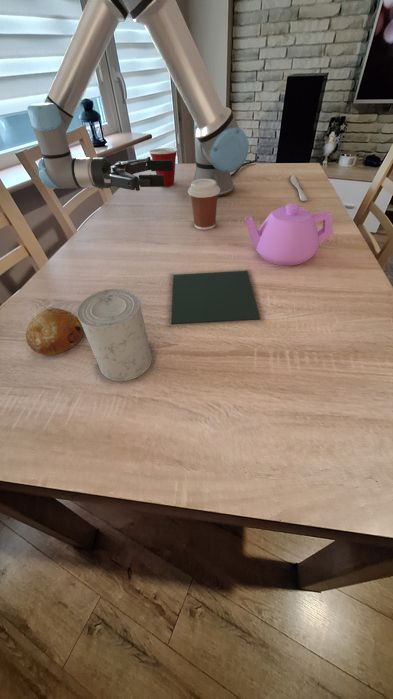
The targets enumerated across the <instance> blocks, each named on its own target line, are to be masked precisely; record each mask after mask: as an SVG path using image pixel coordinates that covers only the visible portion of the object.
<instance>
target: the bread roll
mask: <svg viewBox="0 0 393 699" xmlns="http://www.w3.org/2000/svg"><path fill="white" fill-rule="evenodd" d="M83 334H84V329H83V327H82V325H81V322H80V321H79V319H78V316H77V315H76V314H74V313H72V312H71V311H68V310H66V309H62V308H58V307H52V306H50V307H46V308H43V309H41V310H40V311H39V312H37V313H35V315H33V316H32V317H31V320H30V321H29V323H28V325H27V327H26V329H25V340H26V343H27V344H28V346H29V347H30V349H31V350H32V351H34V352H35V353H37V354H40V355H45V356H53V355H57V354H60V353H64V352H67V351H69V350H71V349H72V348H73V347H75V346H76V345H78V344H79V342H80V341H81V340H82V337H83Z"/></svg>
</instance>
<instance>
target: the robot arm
mask: <svg viewBox="0 0 393 699" xmlns="http://www.w3.org/2000/svg"><path fill="white" fill-rule="evenodd" d="M128 15H130V17H131V19H132V21H133V22H135V23H137V24H139V25H142V26H144V29H145V30H146V32H147V34H148V36H149V38H150V40H151V41H152V44H153V45H154V47H155V49H156V51H157V54H158V55H159V57H160V59H161V60H162V62H163V65H164V67H165V68H166V70H167V72H168V74H169V76H170V78H171V79H172V82H173V83H174V85H175V87H176V89H177V92H178V93H179V95H180V97H181V99H182V100H183V103H184V104H185V107H186V108H187V110H188V113H189V114H190V115H191V117H192V120H193V121H194V123H193V124H194V125H193V130H194V149H195V172H194V176H193V181H195V180H198V179H213V180H215V181H216V184H217V186H219V188H220V192H219V194H218V196H217V198H220V197H225V196H227V195H229V194H231V193H232V192H233V191H234V183H233V180H232V178H233V177H234V176H235V175H236V174H237V173H238V172H239V171H240V170H241V168H242V167H244V166H245V165H246V166H247V165H250V164H254V163H256V162H257V161H258V160H259V159H260V156H259V155H256V157H255V159H254V160H251V161H247V162H245V161H246V160H247V157H248V154H249V151H250V150H249V149H250V144H249V139H248V136H247V134H246V133H245V131H244V130H242V128H240V126H239V125H238V123H237V121H236V120H237V119H236V118H235V115H234V114H233V111H232V109H231V108H230V107H227V106H224V105H223V103H222V101H221V99H220V97H219V96H220V95H219V94H218V92H217V90H216V87H215V85H214V83H213V81H212V79H211V76H210V74H209V72H208V70H207V68H206V65H205V63H204V61H203V58H202V56H201V54H200V52H199V49H198V47H197V45H196V42H195V41H194V38H193V36H192V34H191V32H190V29H189V27H188V25H187V22H186V20H185V18H184V16H183V13H182V12H181V8H180V7H179V4H178V2H177V0H87V1H86V3H85V6H84V8H83V11H82V13H81V15H80V18H79V20H78V23H77V25H76V28H75V29H74V32H73V34H72V36H71V39H70V42H69V44H68V45H67V48H66V51H65V53H64V55H63V57H62V60H61V63H60V65H59V67H58V69H57V71H56V75H55V77H54V79H53V81H52V84H51V86H50V88H49V90H48V94H47V96H46V98H45V100H44V102H37V103H32V104H29V105H28V106H27V108H26V111H27V114H28V117H29V123H30V125H31V127H32V129H33V132H34V135H35V138H36V141H37V144H38V147H39V149H40V152H41V155H42V158H40V160H39V161H38V163H37V164H38V165H37V169H38V176H39V178H40V180H41V182H42V183H43V185H45V187H48V188H51V189H61V190H64V189H87V190H88V191H91V190H92V189H97V188H98V189H110V188H112V187H115V188H119V189H123V190H129V191H136V192H139V191H140V190H141V188H164V187H166V186H165V184H164V175H157V174H139V173H143V172H148V171H151V172H156V171H173V162H172V160H152V157H151V156H147V157H146V158H138V159H132V160H131V159H130V160H125V161H124V160H123V161H122V160H121V161H117V162H116V163H114V164H113V165H112V164H111V162H110V161H109V159H108V158H106V157H93V158H92V157H72V152H71V149H70V145H69V141H68V138H67V131H68V129H69V127H70V126H71V123H72V122H73V119H74V117H75V114H76V113H77V110H78V109H79V105H80V104H81V102H82V100H83V97H84V96H85V94H86V91H87V89H88V88H89V85H90V84H91V81H92V79H93V77H94V75H95V73H96V71H97V69H98V67H99V64H100V62H101V61H102V58H103V56H104V54H105V52H106V50H107V47H108V46H109V44H110V42H111V39H112V38H113V36H114V34H115V31H116V29H117V27H118V26H119V23H124V22H126V19H127V18H128ZM231 173H232V174H231ZM135 174H139V175H138V176H137V175H135Z"/></svg>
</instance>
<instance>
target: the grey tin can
mask: <svg viewBox="0 0 393 699" xmlns="http://www.w3.org/2000/svg"><path fill="white" fill-rule="evenodd" d="M140 299H141V298H139V296H138V295H137V294H136V293H135V292H133V291H131V290H128V289H125V288H108V289H103V290H99V291H96V292H95V293H92V294H91V295H89V296H87V297H85V298H84V299H83V300H82V301H81V302H80V304H79V305H78V307H77V308H76V316H77V317H78V319H79V321H80V322H81V325H82V327H83V329H84V330H83V333H84V335H85V336H86V340H87V341H88V344H89V346H90V348H91V350H92V353H93V355H94V358H95V360H96V363H97V364H98V368H99V371H100V372H101V374H102V376H104V377H105V378H106V379H108V380H111V381H113V382H126V381H131V380H134V379H137V378H138V377H140V376H141V375H143V374H145V372H147V370H148V369H149V368H150V366H151V364H152V361H153V353H152V351H151V347H150V342H149V338H148V333H147V329H146V325H145V321H144V316H143V311H142V306H141V300H140Z"/></svg>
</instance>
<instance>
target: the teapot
mask: <svg viewBox="0 0 393 699" xmlns="http://www.w3.org/2000/svg"><path fill="white" fill-rule="evenodd" d="M300 206H301V205H299V204H297V203H293V202H291V203H287V204H285V206H281V207H278V208H275V209H274V210H272V211H271V212H270V213H269V214H268V215H267V217H266V218H265V220H264V221H263V222H262V224H261V225H260V227H259V229H258V228H257V226H256V224H255V222H254V220H253V217H252V216H249V217H243V218H244V219H243V220H244V224H245V226H246V229H247V231H248V234H249V238H250V240H251V243H252V246H253V249H255V250H256V252H257V253H258V255H259V256H260V257H261V258H262V259H263V260H264V261H266V262H267V263H270V264H273V265H278V266H287V267H289V266H290V267H291V266H297V265H301V264H303V263H306V262H307V261H308V260H310V259H311V258H312V257H314V256H315V255H316V253H317V252H318V249H319V245H320V244H321V243H323V242H324V241H325V240H327V239H329V238H330V237H332V236H333V234H334V228H333V215H332V212H331V211H330V210H325V211H320V212H316V213H315V212H314V213H311V212H310V211H309V210H307V209H306V208H303V207H300ZM318 222H322V228H321V229H319V230H318V226H317V224H316V223H318Z"/></svg>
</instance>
